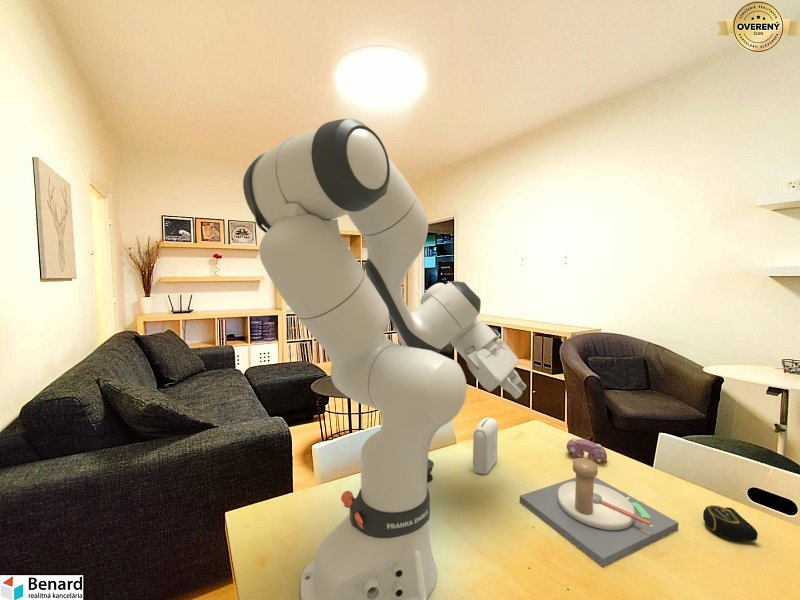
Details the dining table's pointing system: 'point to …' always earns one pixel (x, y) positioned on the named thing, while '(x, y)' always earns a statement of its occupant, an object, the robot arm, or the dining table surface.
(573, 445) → the pink toy car
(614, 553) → the dial board
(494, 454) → the photo printer
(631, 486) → the dining table surface
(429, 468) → the dark grey chess piece
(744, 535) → the tape measure
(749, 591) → the dining table surface
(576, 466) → the tuning dial
